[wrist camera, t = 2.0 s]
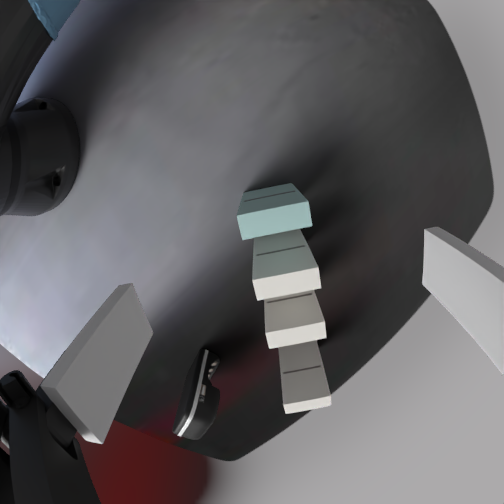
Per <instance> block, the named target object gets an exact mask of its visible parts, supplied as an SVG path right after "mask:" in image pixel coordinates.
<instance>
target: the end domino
mask: <svg viewBox="0 0 504 504" xmlns="http://www.w3.org/2000/svg"><path fill="white" fill-rule="evenodd" d="M278 348H279V359H280V370H281V382H282V394H283V405H284V409H285V413H286V414H288V413H294V412H300V411H306V410H311V409H316V408H321V407H326V406H331V395H330V391H329V387H328V383H327V379H326V375H325V371H324V367H323V363H322V359H321V355H320V352H319V348H318V344H317V340H314V341H309V342H304V343H299V344H294V345H288V346H283V347H278Z"/></svg>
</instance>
